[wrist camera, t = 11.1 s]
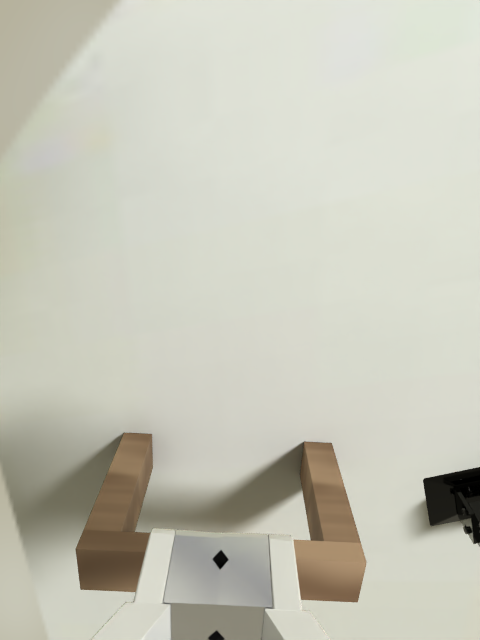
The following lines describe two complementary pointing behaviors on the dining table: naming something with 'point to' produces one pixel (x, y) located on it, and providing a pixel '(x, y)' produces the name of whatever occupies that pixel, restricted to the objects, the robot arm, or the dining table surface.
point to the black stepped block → (455, 500)
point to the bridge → (311, 556)
